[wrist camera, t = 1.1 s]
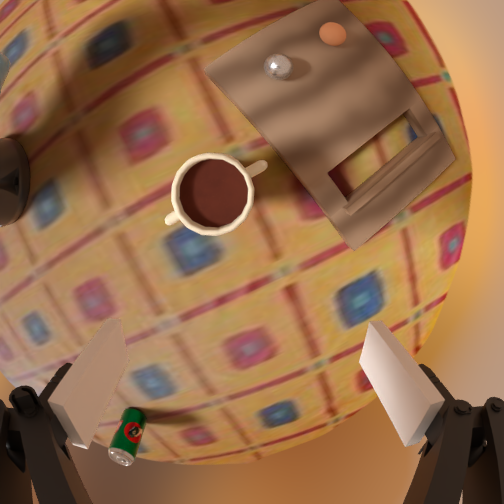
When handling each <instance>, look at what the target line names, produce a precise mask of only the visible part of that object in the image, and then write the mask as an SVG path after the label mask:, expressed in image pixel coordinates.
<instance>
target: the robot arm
mask: <svg viewBox="0 0 504 504" xmlns="http://www.w3.org/2000/svg"><path fill="white" fill-rule="evenodd" d="M9 70H10V61H9V59H8V58H7V57H6V56H5V55H4V54H2V53H1V52H0V90H1V88H2V86H3V83H4V81H5V79H6V77H7V75H8V72H9ZM0 93H1V91H0ZM29 186H30V171H29V164H28V159H27V156H26V153H25V151H24V149H23V147H22V146H21V145H20V144H19V143H18V142H17V141H16V140H14V139H11V138H0V227H3V226H6V225H9V224H11V223H13V222H15V221H16V220H17V219H18V218H19V216H20V215H21V213H22V211H23V210H24V207H25V205H26V202H27V198H28V193H29ZM128 363H129V356H128V352H127V348H126V343H125V339H124V334H123V329H122V324H121V319H115V318H107V320H106V321H105V322H104V323H103V325H102V326H101V327H100V329H99V330H98V331H97V333H96V334H95V335H94V336H93V338H92V339H91V340H90V342H89V343H88V344H87V346H86V347H85V348H84V350H83V351H82V352H81V354H80V355H79V356H78V358H77V359H76V361H75V362H74V363H73V364H71V363H66V364H65V365H63V366H62V367H61V368H59V370H58V371H57V372H56V374H55V375H54V377H53V378H52V379H51V380H50V382H49V383H48V384H47V386H46V387H45V389H44V390H43V391H42V393H41V394H40V396H39V397H38V396H37V394H36V392H35V390H34V389H33V388H32V387H30V386H20V387H17V388H15V389H14V390H13V391H12V392H11V394H10V395H9V401H10V402H11V404H12V406H13V407H14V408H7V407H6V406H5V404H4V402H3V401H2V400H1V399H0V504H33V500H32V487H31V479H32V482H33V486H34V489H35V492H36V495H37V498H38V501H39V504H93V503H92V501H91V499H90V497H89V495H88V493H87V491H86V489H85V487H84V485H83V483H82V480H81V478H80V476H79V474H78V472H77V469H76V467H75V464H74V462H73V460H72V457H71V455H70V452H69V449H68V447H67V445H66V444H65V441H66V439H67V437H68V438H69V439H70V441H71V442H72V444H73V445H76V446H79V447H82V448H86V449H88V448H89V445H90V443H91V441H92V439H93V436H94V434H95V432H96V430H97V427H98V425H99V423H100V421H101V418H102V416H103V414H104V412H105V410H106V408H107V406H108V403H109V401H110V399H111V397H112V395H113V393H114V391H115V389H116V387H117V385H118V383H119V381H120V379H121V377H122V375H123V373H124V371H125V369H126V367H127V365H128ZM359 363H360V364H361V366H362V368H363V370H364V372H365V373H366V375H367V377H368V379H369V380H370V382H371V384H372V386H373V388H374V390H375V391H376V393H377V395H378V397H379V399H380V400H381V402H382V404H383V406H384V408H385V409H386V411H387V413H388V415H389V417H390V419H391V421H392V423H393V425H394V427H395V428H396V430H397V432H398V434H399V436H400V438H401V440H402V442H403V444H404V446H405V447H407V446H410V445H413V444H416V443H419V442H420V440H421V439H422V437H423V436H424V434H425V435H426V437H427V439H428V440H427V441H426V443H425V444H424V445H423V447H422V448H421V450H420V451H419V453H418V454H421V452H422V451H423V452H422V455H421V458H420V461H419V464H418V467H417V469H416V472H415V475H414V478H413V480H412V483H411V485H410V488H409V490H408V493H407V495H406V497H405V500H404V502H403V504H459V501H460V497H461V493H462V489H463V503H462V504H504V401H503V400H501V399H500V398H496V397H491V398H489V399H487V401H486V403H485V404H484V406H479V407H472V406H471V405H470V404H469V403H468V402H466V401H464V400H455V399H454V398H453V396H452V395H451V394H450V393H449V391H448V390H447V389H446V388H445V386H444V385H443V384H442V383H441V382H440V380H439V379H438V378H437V377H436V375H435V374H434V373H433V372H432V370H431V369H430V368H428V367H427V366H425V365H424V364H419V365H418V364H417V363H416V362H415V361H414V359H413V358H412V357H411V356H410V354H409V353H408V352H407V351H406V349H405V348H404V347H403V346H402V344H401V343H400V342H399V341H398V340H397V338H396V337H395V336H394V335H393V334H392V332H391V331H390V330H389V329H388V328H387V326H386V325H385V324H384V323H383V322H382V321H371V322H369V326H368V330H367V334H366V338H365V342H364V346H363V350H362V354H361V357H360V361H359ZM486 441H487V445H486Z"/></svg>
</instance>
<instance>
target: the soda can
mask: <svg viewBox="0 0 504 504" xmlns="http://www.w3.org/2000/svg"><path fill="white" fill-rule="evenodd" d="M146 422H147V418H146V417H145V415H144V414H143V413H142V412H141V411H139V410H137V409H134V408H129V409H125V410H124V411H123V414H122V416H121V419H120V421H119V424H118V426H117V429H116V431H115V434H114V436H113V439H112V441H111V444H110V446H109V449H108V451H109V457H110V458H111V459H112V460H113V461H115V462H117V463H119V464H121V465H126V466H128V465H131V464H132V462H134V461H135V458H136V455H137V451H138V448H139V445H140V441H141V438H142V435H143V432H144V429H145V425H146Z"/></svg>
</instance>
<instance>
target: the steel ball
mask: <svg viewBox="0 0 504 504" xmlns="http://www.w3.org/2000/svg"><path fill="white" fill-rule="evenodd" d="M264 70H265V73H266V74H267V75H268V76H269V77H270V78H272V79H275V80H283V79H286V78H288V77H289V76H290V75H291V74H292V72H293V63H292V61H291V59H290V58H289V57H288V56H286V55H284V54H279V53H277V54H273V55H270V56H269V57H268V58H267V59H266V60H265V62H264Z"/></svg>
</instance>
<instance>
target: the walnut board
mask: <svg viewBox="0 0 504 504" xmlns="http://www.w3.org/2000/svg"><path fill="white" fill-rule="evenodd" d="M328 22H334V23H337V24H339V25H341V26H342V27H343V28H344V29H345V31H346V39H345V41H344V42H343V43H342V44H341V45H338V46H331V45H328V44H326V43H324V42H323V41H322V39H321V38H320V35H319V31H320V28H321V27H322V25H324V24H325V23H328ZM277 53H279V54H284V55H286V56H288V57H289V58H290V59H291V61H292V63H293V72H292V74H291V75H290V76H289V77H288V78H286V79H283V80H275V79H272V78H270V77H269V76H268V75H267V74H266V73H265V70H264V62H265V60H266V59H267V58H268V57H269V56H270V55H273V54H277ZM204 71H205V74H206V75H207V76H208V77H209V78H210V79H211V80H212V82H213V83H214V84H215V85H216V86H217V87H218V88H219V89H220V90H221V91H222V92H223V93H224V94H225V95H226V96H227V97H228V98H229V99H230V100H231V102H232V103H233V104H234V105H235V106H236V107H237V108H238V109H239V110H240V111H241V112H242V114H243V115H244V116H245V117H246V118H247V119H248V120H249V121H250V122H251V124H252V125H253V126H254V127H255V128H256V129H257V130H258V132H259V133H260V134H261V135H262V136H263V137H264V139H265V140H266V141H267V142H268V143H269V144H270V146H271V147H272V148H273V149H274V150H275V152H276V153H277V154H278V155H279V156H280V158H281V159H282V160H283V161H284V162H285V164H286V165H287V166H288V167H289V169H290V170H291V171H292V172H293V174H294V175H295V176H296V177H297V179H298V180H299V181H300V182H301V184H302V185H303V186H304V187H305V189H306V190H307V191H308V193H309V194H310V195H311V196H312V198H313V199H314V200H315V202H316V203H317V204H318V206H319V207H320V208H321V210H322V211H323V212H324V214H325V215H326V216H327V218H328V219H329V220H330V222H331V223H332V225H333V226H334V227H335V229H336V230H337V231H338V233H339V234H340V236H341V237H342V238H343V240H344V241H345V243H346V244H347V246H348V247H350V248H351V249H352V250H354V251H355V250H356V249H357V248H359V247H360V246H361V245H362V244H363V243H365V242H366V241H367V240H368V239H369V238H370V237H372V236H373V235H374V234H375V233H376V232H377V231H379V230H380V229H381V228H382V227H383V226H384V225H385V224H387V223H388V222H389V221H390V220H391V219H392V218H393V217H395V216H396V215H397V214H398V213H399V212H400V211H401V210H402V209H403V208H405V207H406V206H407V205H408V204H409V203H410V202H411V201H412V200H413V199H414V198H416V197H417V196H418V195H419V194H420V193H421V192H422V191H423V190H424V189H425V188H426V187H427V186H428V185H429V184H431V183H432V182H433V181H434V180H435V179H436V178H437V177H438V176H439V175H440V174H441V173H442V172H443V171H444V170H445V169H446V168H447V167H448V166H449V165H450V164H451V163H452V162H453V161H454V160H455V156H454V154H453V152H452V150H451V149H450V147H449V145H448V143H447V141H446V139H445V137H444V135H443V134H442V132H441V130H440V128H439V126H438V125H437V123H436V121H435V120H434V118H433V116H432V115H431V113H430V111H429V110H428V108H427V106H426V105H425V103H424V102H423V100H422V99H421V97H420V96H419V94H418V93H417V91H416V90H415V88H414V87H413V85H412V84H411V82H410V81H409V80H408V78H407V77H406V76H405V74H404V73H403V71H402V70H401V69H400V67H399V66H398V65H397V64H396V62H395V61H394V60H393V58H392V57H391V56H390V55H389V53H388V52H387V51H386V50H385V49H384V47H383V46H382V45H381V44H380V43H379V42H378V40H377V39H376V38H375V37H374V36H373V35H372V34H371V32H370V31H369V30H368V29H367V28H366V27H365V26H364V25H363V24H362V23H361V22H360V21H359V20H358V19H357V18H356V17H355V16H354V15H353V14H352V13H351V12H350V11H349V10H348V9H347V8H346V7H345V6H344V5H343V4H342V3H341V2H340V1H339V0H317V1H315V2H313V3H310V4H308V5H306V6H304V7H302V8H300V9H298V10H296V11H294V12H292V13H290V14H288V15H287V16H285V17H283V18H281V19H279V20H277V21H276V22H274V23H272V24H270V25H269V26H267V27H265V28H263V29H262V30H260V31H258V32H257V33H255V34H253V35H252V36H250V37H249V38H247V39H245V40H244V41H242V42H241V43H239V44H238V45H236V46H235V47H233V48H232V49H230V50H229V51H227V52H226V53H224V54H223V55H222V56H220V57H219V58H217V59H216V60H215V61H213V62H212V63H210V64H209V65H208V66H206V67H205V68H204ZM401 114H403V115H404V116H405V118H406V119H407V121H408V122H409V124H410V125H411V127H412V129H413V130H414V132H415V133H416V135H417V138H416V139H415V140H414V141H412V142H411V143H410V144H409V145H408V146H406V147H405V148H404V149H403V150H402V151H401V152H399V153H398V154H397V155H396V156H395V157H393V158H392V159H391V160H390V161H389V162H387V163H386V164H385V165H384V166H383V167H381V168H380V169H379V170H378V171H377V172H375V173H374V174H373V175H372V176H371V177H369V178H368V179H367V180H366V181H365V182H363V183H362V184H361V185H360V186H359V187H357V188H356V189H355V190H354V191H353V192H351V193H350V194H349V195H348V196H347V197H344V196H343V194H342V193H341V192H340V190H339V189H338V187H337V186H336V185H335V183H334V182H333V181H332V179H331V178H330V177H329V175H328V174H327V173H328V172H329V171H330V170H332V169H333V168H334V167H335V166H337V165H338V164H339V163H340V162H342V161H343V160H344V159H345V158H347V157H348V156H349V155H351V154H352V153H353V152H354V151H356V150H357V149H358V148H359V147H361V146H362V145H363V144H364V143H366V142H367V141H368V140H369V139H371V138H372V137H373V136H375V135H376V134H377V133H378V132H380V131H381V130H382V129H383V128H385V127H386V126H387V125H389V124H390V123H391V122H392V121H394V120H395V119H396V118H398V117H399V116H400V115H401Z"/></svg>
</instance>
